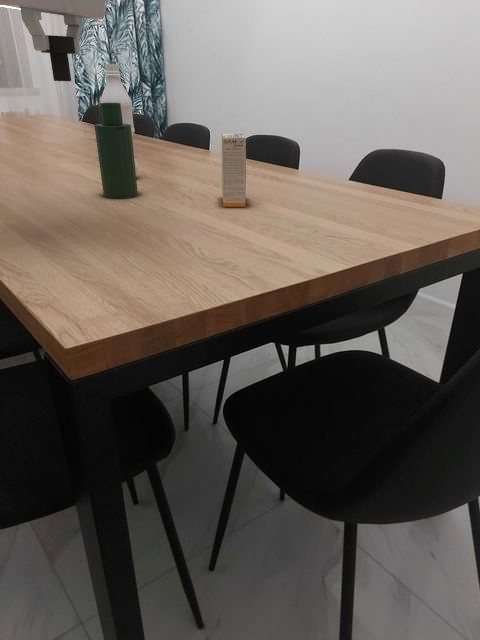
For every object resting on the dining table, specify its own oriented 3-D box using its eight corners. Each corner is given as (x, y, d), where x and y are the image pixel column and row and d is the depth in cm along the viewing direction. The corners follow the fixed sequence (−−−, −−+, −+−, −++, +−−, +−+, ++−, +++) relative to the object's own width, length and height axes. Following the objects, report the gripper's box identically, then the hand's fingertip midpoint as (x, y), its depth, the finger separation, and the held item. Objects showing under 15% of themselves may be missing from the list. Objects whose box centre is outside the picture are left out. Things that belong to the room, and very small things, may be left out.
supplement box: (246, 207, 101) (246, 137, 95) (222, 207, 101) (221, 137, 95) (244, 198, 109) (244, 132, 102) (222, 198, 108) (221, 132, 102)
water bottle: (139, 175, 130) (128, 64, 117) (138, 180, 123) (127, 64, 111) (111, 176, 128) (97, 63, 116) (108, 181, 122) (93, 63, 110)
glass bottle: (112, 200, 105) (100, 104, 96) (98, 193, 110) (85, 102, 101) (143, 195, 109) (134, 103, 100) (128, 190, 114) (119, 101, 105)
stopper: (51, 81, 70) (44, 34, 67) (41, 80, 73) (34, 35, 70) (84, 81, 72) (78, 37, 70) (72, 80, 76) (66, 38, 73)
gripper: (74, -55, 74) (87, 54, 80) (-47, -94, 57) (-18, 48, 64) (109, -57, 72) (120, 55, 79) (-5, -98, 55) (21, 48, 62)
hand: (58, 52), depth 71 cm, fingers closed on stopper, 4 cm apart
